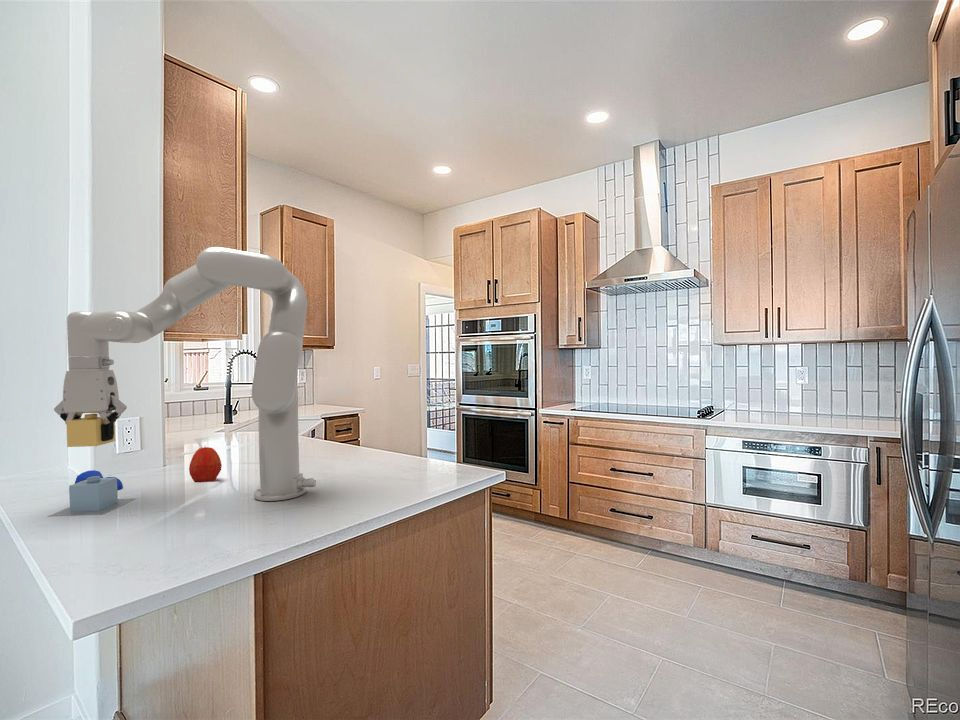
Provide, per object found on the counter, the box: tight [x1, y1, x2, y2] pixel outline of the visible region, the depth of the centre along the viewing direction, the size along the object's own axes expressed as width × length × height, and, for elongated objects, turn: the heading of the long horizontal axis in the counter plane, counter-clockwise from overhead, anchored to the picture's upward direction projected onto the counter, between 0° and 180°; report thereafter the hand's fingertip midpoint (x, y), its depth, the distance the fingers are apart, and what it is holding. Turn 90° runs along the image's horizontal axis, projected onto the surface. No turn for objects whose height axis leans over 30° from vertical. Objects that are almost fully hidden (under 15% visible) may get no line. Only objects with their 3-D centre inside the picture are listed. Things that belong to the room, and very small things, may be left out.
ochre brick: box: [65, 413, 116, 448], centre depth 116 cm, size 6×6×7 cm
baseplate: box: [47, 497, 138, 518], centre depth 117 cm, size 12×12×2 cm
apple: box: [188, 446, 223, 483], centre depth 141 cm, size 8×8×11 cm
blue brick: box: [68, 476, 119, 512], centre depth 117 cm, size 6×6×7 cm
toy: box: [74, 469, 124, 492], centre depth 134 cm, size 7×6×15 cm
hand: (91, 439), depth 116 cm, fingers closed on ochre brick, 6 cm apart
